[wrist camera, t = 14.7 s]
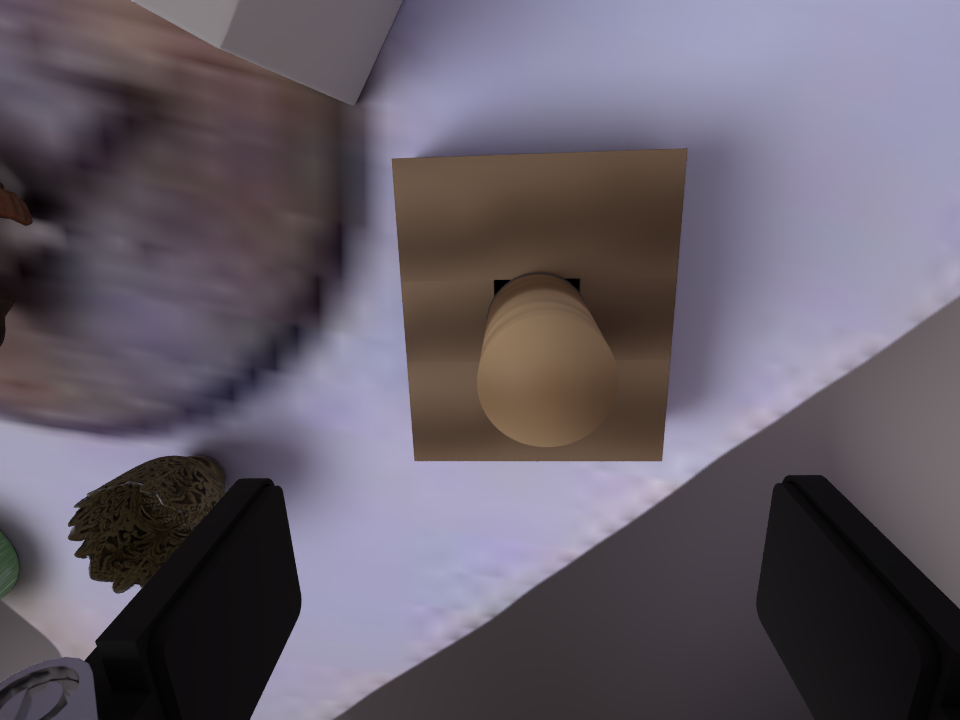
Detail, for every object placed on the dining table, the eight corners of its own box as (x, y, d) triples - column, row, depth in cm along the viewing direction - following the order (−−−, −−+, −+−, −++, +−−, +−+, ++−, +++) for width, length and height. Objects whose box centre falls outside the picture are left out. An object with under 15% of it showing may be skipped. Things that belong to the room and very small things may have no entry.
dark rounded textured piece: (259, 437, 38) (195, 502, 30) (255, 527, 40) (195, 609, 33) (151, 417, 38) (60, 478, 30) (153, 509, 40) (69, 586, 33)
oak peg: (489, 260, 33) (472, 315, 20) (580, 257, 32) (623, 312, 19) (491, 346, 34) (477, 448, 21) (578, 345, 34) (616, 448, 21)
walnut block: (410, 161, 32) (391, 158, 27) (660, 152, 31) (687, 148, 26) (427, 424, 37) (414, 460, 32) (642, 423, 36) (662, 461, 31)
